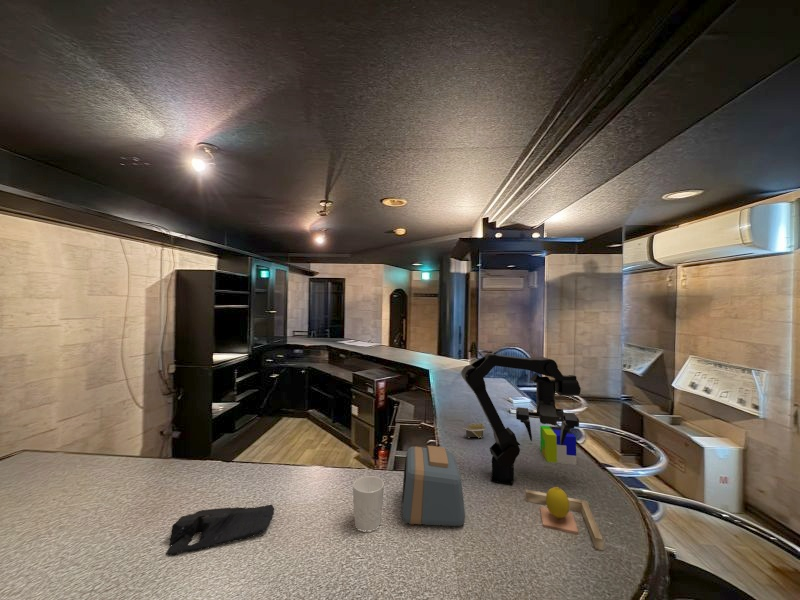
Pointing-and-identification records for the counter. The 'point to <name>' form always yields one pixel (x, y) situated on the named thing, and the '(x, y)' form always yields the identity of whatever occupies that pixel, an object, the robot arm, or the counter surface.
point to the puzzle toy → (557, 445)
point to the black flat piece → (218, 527)
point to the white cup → (368, 502)
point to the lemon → (557, 502)
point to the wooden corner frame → (567, 517)
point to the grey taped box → (432, 488)
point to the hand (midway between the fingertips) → (546, 442)
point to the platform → (474, 430)
